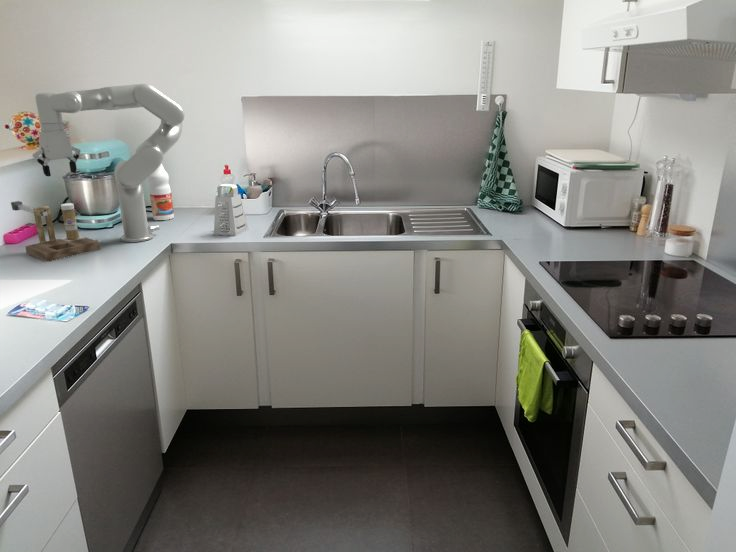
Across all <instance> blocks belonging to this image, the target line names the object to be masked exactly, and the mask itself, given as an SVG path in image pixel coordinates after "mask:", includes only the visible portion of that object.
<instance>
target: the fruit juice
mask: <svg viewBox="0 0 736 552" xmlns="http://www.w3.org/2000/svg"><path fill="white" fill-rule="evenodd" d="M147 180H148V184H149V190H148V191H149V197H150V206H151V213H152V219H153V220H154V221H157V220H165V221H170V220H172V218H173V219H174V218H175V213H174V205H173V204H174V203H173V196H172V189H171V186H170V182H169V181H170V175H169V173H168V172H167V171H166V170H165V167H164V165H163V162H162V163H161V165H160V166H159V167H158V168H157V169H156V170H155V171H154V172H153V173H152V174H151V175H150V176H149V177H148V178H147ZM169 219H170V220H169Z"/></svg>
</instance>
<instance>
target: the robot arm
mask: <svg viewBox="0 0 736 552" xmlns="http://www.w3.org/2000/svg"><path fill="white" fill-rule="evenodd" d="M34 99H35V103H36V108H37V113H38V119H39V125H40V130H41V131H40V132H38V134H39V136H38V137H39V138H38V140H39V143H38V144H39V149H38V150H37V151H35V152H34V153H33V154H32V157H33V158H34V160H35V161H36V162H37V163H38V164H39V165H40V166H42V170H43V174H44V176H45V177H51V176H52V174H51V169H50V166H49V165H48V164H49V163H50V161H52V160H54V161H55V160H61V159H67V160H69V171H70V173H73V174H76V173H77V170H78V169H77V161H78V160H79V158H80V155H81V149H79V148H78V147H77V148H76V147H74V146H72V144H71V140H70V137H69V134H68V132H67V130H65V128H67V127H68V124H67V123H64V120H63V115H62V113H63V114H76V113H79V112H84V111H96V110H107V111H118V110H127V109H136V108H137V109H138V108H144V109H145V110H146V111H148V112H149V113H150V114H152V115H153V116H155V117H157V118H158V119H160V123H159V126H158V127H157V129H156V130H155V131H154V132H153V133H152V134H151V135H150V136H149V137H148V138H147V139H145V140H144V141H143V142H142V143H141V144H140V145H138V146H137V148H136V149H135V153H133V155H132V156H131V157H129V158H128V159H126V160H121V161H119V162H118V163H117V164H116V166H115V167H114V171H113V175H114V179H115V185H116V191H117V197H118V202H119V203H118V204H119V209H120V217H121V224H122V229H123V235H122V236H120V241H122V242H123V243H140V242H145V241H149V240H152V239H153V238H154V233H153V232H156V231H159V230H160V226H159V225H148V216H147V210H146V209H147V207H146V201H145V194H144V189H143V188H144V187H143V183H144V182H145V181H146V180H148V177H149V176H150V175H151V174H152V173H153V172H154V171H155V170H156V169H157V168H158V167H159V166H160V165H161V163H162V164H163V161H164V155H165V154H167V153H168V152H169V150H171V149H172V147H174V145H176V143H177V142H178V141H179V140H180V137H181V134H182V131H183V122H184V120H185V112H184V110H183V108H182V106H181V105H179V104H178V103H176V102H175V101H174V100H172V99H170V98H169V97H168V96H166V95H165V94H163V93H162V92H161V91H159V90H158V89H157V88H155V87H154V86H152V85H151V84H148V83H136V84H135V83H134V84H126V85H111V86H104V87H101V88H100V87H99V88H93V89H92V88H91V89H83V90H71V91H69V90H68V91H66V92H60V93H55V92H39V93H37V94H35V98H34ZM73 153H74V154H73Z"/></svg>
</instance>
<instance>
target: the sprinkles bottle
mask: <svg viewBox="0 0 736 552" xmlns="http://www.w3.org/2000/svg"><path fill="white" fill-rule="evenodd" d="M74 205H75V204H74V203H71V202H69V203H62V204H61V205H60V210H61V211H62V212H61V214H62V219H63V224H64V230H65V234H66V237H67V239H75V238H78V237H79V229H78V224H77V222H78V221H77V217H76V212H75V206H74Z"/></svg>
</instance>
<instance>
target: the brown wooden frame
mask: <svg viewBox="0 0 736 552" xmlns="http://www.w3.org/2000/svg"><path fill="white" fill-rule="evenodd" d="M43 210H44V211H47V214H48V216H44V218H45V219H44V220H45V224H46V228H47V229H46V230H47V233H48V240H47V239H46V234H45V230H44V225H43V220H42V216H41V214H40V211H43ZM33 212H34V213H33V216H34V221H35V226H36V230H37V236H38V241H39V242H38V243H33V244H29V245H25V247H24V248H25V252H26V254H27V255H29V256H31V255H32V256H31V257H34V258H37V259H39V260H42V261H44V260H45V261H44V262H48V261H49V262H53V261H56V259H57V260H60V258H61V259H64V257H65V258H68V256H69V257H73V256H77V254H78V255H81V253H82V254H84V253H85V252H86V253H90V252H94V251H97V250H101V246H100V241H99V240H95V239H91V238H89V237H87V236H84V235H83V236H82V235H79V237H78V238H75V239H67V236H64V237H59V238H56V233H55V228H54V223H53V218H52V213H51V208H50V206H48V205H44V206H40V207H39V206H38V207H33ZM86 253H85V254H86ZM72 255H73V256H72ZM52 260H53V261H52Z"/></svg>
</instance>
